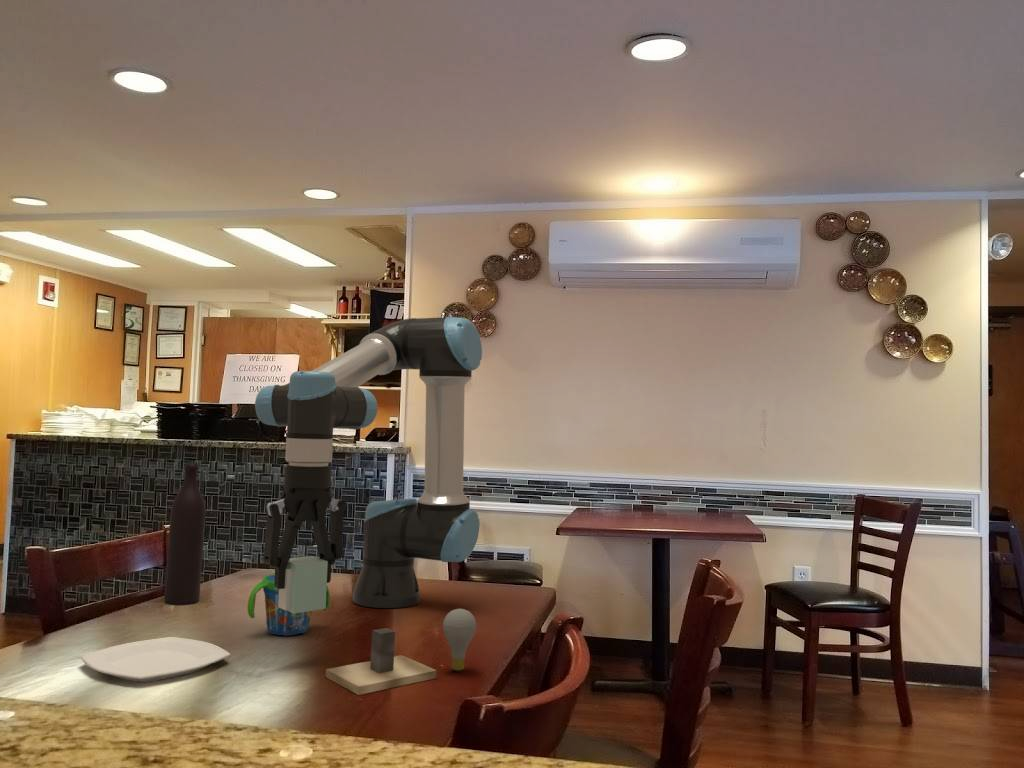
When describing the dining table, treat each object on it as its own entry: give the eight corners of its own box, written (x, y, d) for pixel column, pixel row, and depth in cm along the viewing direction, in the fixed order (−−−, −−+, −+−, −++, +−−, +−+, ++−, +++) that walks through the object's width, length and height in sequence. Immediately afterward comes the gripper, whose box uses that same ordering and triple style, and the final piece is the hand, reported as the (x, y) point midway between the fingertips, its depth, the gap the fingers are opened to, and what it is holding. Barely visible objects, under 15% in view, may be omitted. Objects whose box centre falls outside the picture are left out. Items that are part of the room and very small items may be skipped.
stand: (401, 662, 128) (403, 618, 128) (436, 678, 120) (438, 631, 121) (325, 677, 118) (328, 629, 119) (358, 695, 111) (361, 644, 111)
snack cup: (318, 621, 153) (321, 570, 153) (337, 634, 144) (340, 579, 144) (238, 629, 144) (242, 575, 145) (253, 643, 135) (257, 585, 136)
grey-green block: (309, 601, 129) (311, 556, 129) (325, 608, 125) (327, 561, 125) (278, 606, 125) (280, 559, 125) (293, 613, 121) (295, 564, 121)
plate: (134, 696, 107) (135, 682, 108) (61, 669, 118) (62, 656, 118) (246, 665, 124) (247, 653, 124) (173, 644, 134) (174, 632, 134)
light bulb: (440, 665, 127) (443, 604, 127) (473, 666, 127) (476, 605, 128) (440, 676, 121) (443, 612, 122) (474, 676, 122) (477, 613, 122)
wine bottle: (206, 601, 166) (215, 463, 168) (176, 606, 160) (187, 463, 162) (186, 596, 170) (196, 461, 172) (156, 601, 164) (167, 462, 166)
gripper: (347, 462, 135) (341, 594, 134) (244, 463, 123) (237, 608, 121) (369, 464, 129) (363, 602, 128) (264, 466, 117) (256, 619, 116)
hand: (302, 605), depth 125 cm, fingers closed on grey-green block, 6 cm apart
